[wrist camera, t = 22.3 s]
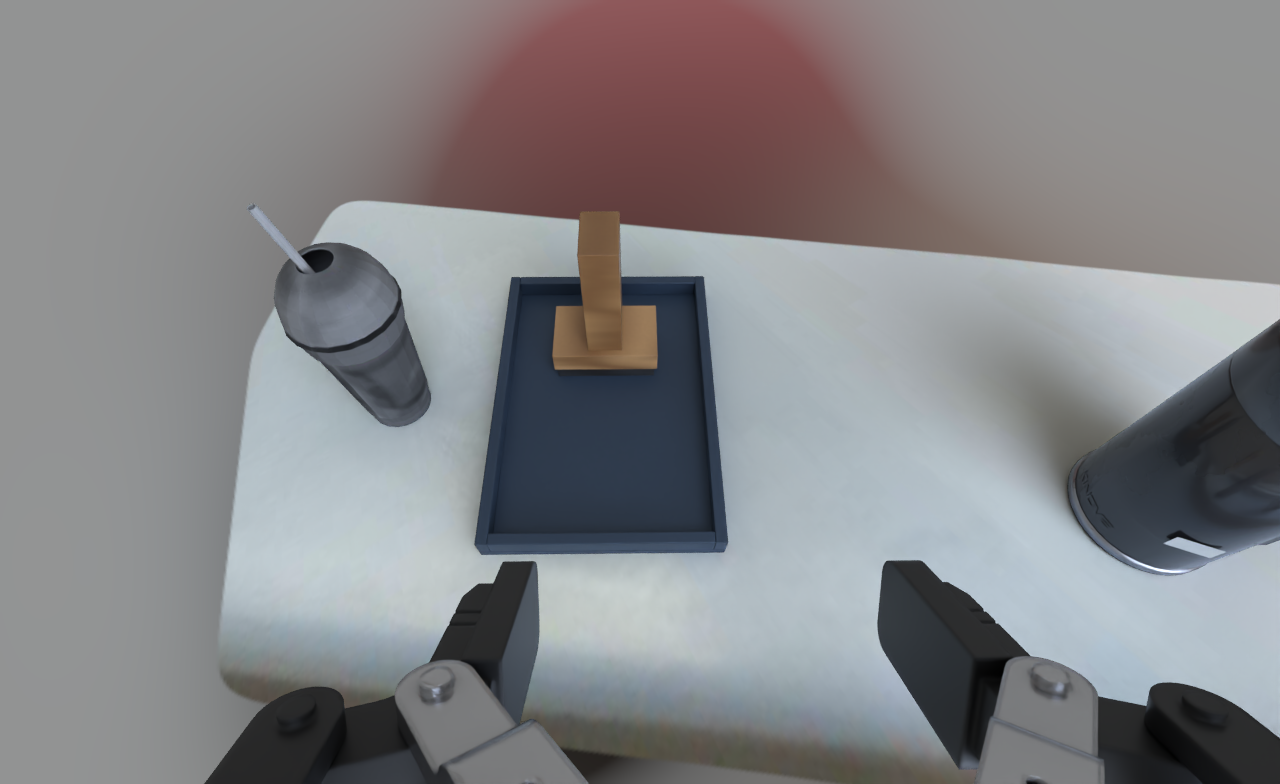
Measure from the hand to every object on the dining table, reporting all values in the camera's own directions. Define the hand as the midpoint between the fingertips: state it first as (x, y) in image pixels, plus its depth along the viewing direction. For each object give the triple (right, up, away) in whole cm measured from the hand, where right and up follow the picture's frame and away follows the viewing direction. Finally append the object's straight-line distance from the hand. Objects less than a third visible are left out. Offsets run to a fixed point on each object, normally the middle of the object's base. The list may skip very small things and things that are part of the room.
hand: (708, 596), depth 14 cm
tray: (-4, +4, +34) cm, 34 cm away
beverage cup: (-20, +4, +34) cm, 40 cm away
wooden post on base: (-4, +8, +36) cm, 37 cm away
